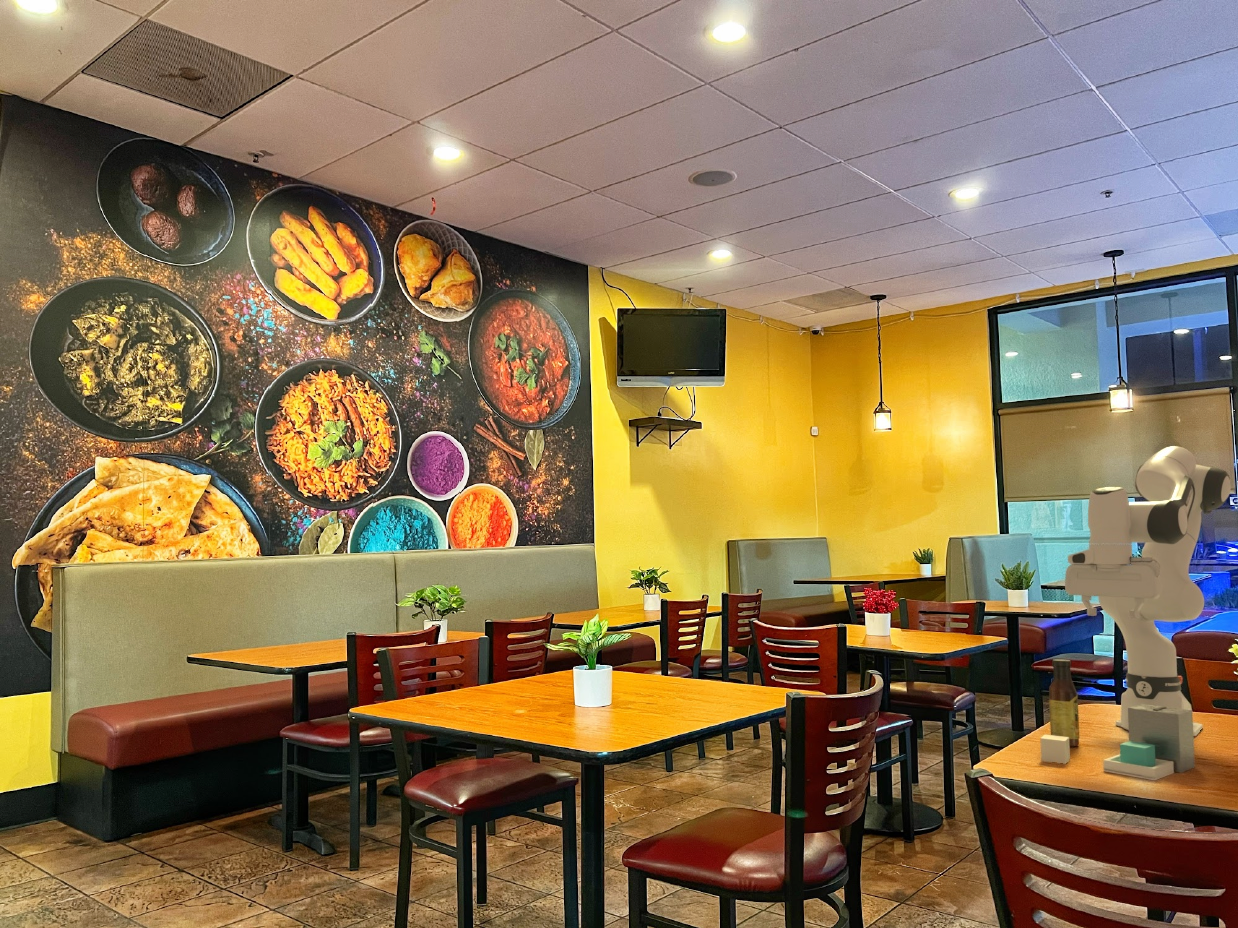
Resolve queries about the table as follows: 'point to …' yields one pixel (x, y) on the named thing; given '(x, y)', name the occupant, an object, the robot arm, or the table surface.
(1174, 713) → the dispenser
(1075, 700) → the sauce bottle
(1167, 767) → the tray
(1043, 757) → the cream block
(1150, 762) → the teal block
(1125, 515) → the robot arm
